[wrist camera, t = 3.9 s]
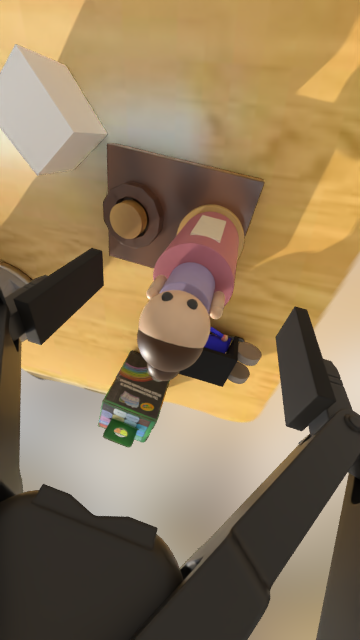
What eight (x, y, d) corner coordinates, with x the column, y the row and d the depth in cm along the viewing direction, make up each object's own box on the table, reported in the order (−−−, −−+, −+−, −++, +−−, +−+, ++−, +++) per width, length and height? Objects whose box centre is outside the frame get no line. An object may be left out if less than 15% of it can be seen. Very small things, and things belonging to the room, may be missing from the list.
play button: (116, 229, 27) (109, 234, 25) (117, 195, 24) (109, 198, 23) (146, 237, 26) (140, 243, 25) (149, 204, 24) (143, 207, 23)
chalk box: (123, 375, 49) (85, 444, 38) (130, 348, 43) (88, 421, 32) (163, 391, 50) (137, 465, 38) (175, 367, 44) (149, 446, 32)
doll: (231, 278, 26) (213, 412, 13) (173, 262, 27) (99, 375, 14) (255, 214, 22) (262, 321, 9) (184, 196, 22) (90, 271, 9)
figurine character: (259, 327, 36) (164, 305, 35) (267, 366, 30) (154, 339, 29) (242, 355, 40) (158, 336, 39) (247, 394, 34) (148, 371, 34)
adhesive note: (108, 134, 24) (74, 132, 19) (74, 170, 27) (37, 176, 22) (65, 64, 21) (15, 43, 17) (33, 112, 24) (-18, 105, 20)
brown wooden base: (115, 250, 32) (103, 260, 29) (115, 143, 24) (98, 143, 21) (227, 282, 31) (225, 295, 28) (263, 179, 23) (265, 184, 20)
